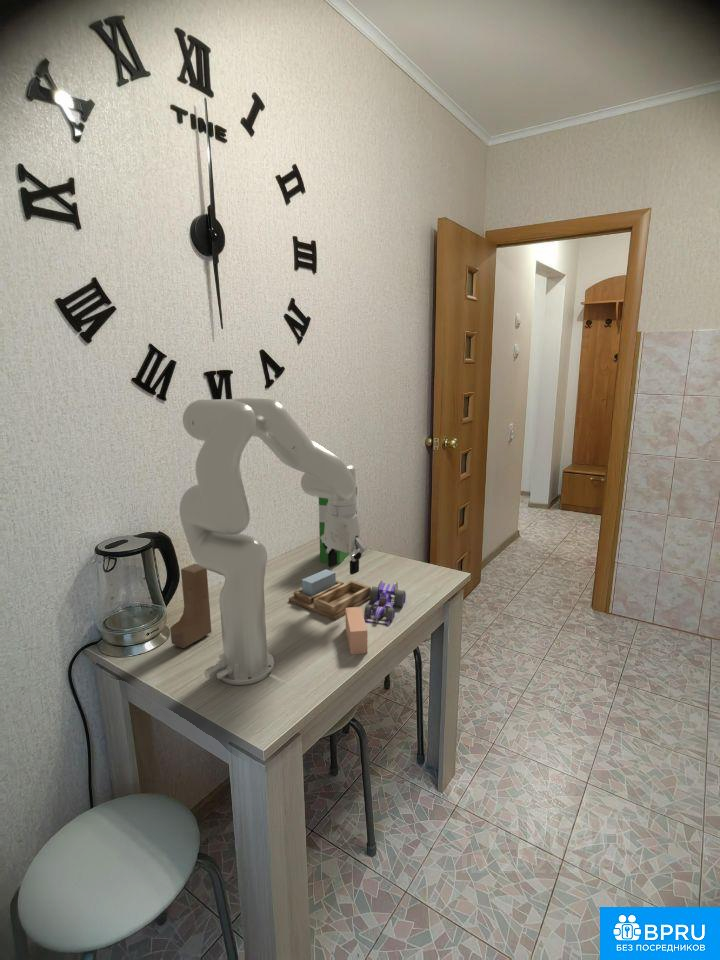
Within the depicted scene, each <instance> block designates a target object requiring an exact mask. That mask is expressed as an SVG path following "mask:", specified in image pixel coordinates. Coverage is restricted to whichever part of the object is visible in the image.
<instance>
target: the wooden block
mask: <svg viewBox="0 0 720 960" xmlns="http://www.w3.org/2000/svg"><path fill="white" fill-rule="evenodd" d="M180 572H181V574H180V576H181V586H182V596H183V611H182V615H181V616H180V619H179V620H178V621H177V622H175V624H173V625H172V626H170V628H169V630H170V631H169V632H170V639H171V640H170V641H171V644H172V645H175V646H177V647H180V648H181V649H184V648H186V647H188V646H190V645H192V644H193V643H195V642H197V641H199V640H201V639H202V638H205V637H206V636H207V635H209V634H211V633H212V620H211V606H210V592H209V583H208V581H209V580H208V570H207V569H204V568H202V567H201V566H199V565H198V564H197V563H193V564H190V565H188V566H185V567H183V568H181V569H180Z"/></svg>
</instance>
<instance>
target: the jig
mask: <svg viewBox="0 0 720 960" xmlns="http://www.w3.org/2000/svg"><path fill="white" fill-rule="evenodd" d="M371 589H372V587H371V586H369V585H367V584H366V585H365V584H362V583H359V582H357V581H354V580H349V581H347V582H343V581H339V580H336V585H334V586H332V587H330V588H328V589H326V590H324V591H322V592H320V593H318V594H316V595H314V596H312V597H311V596H308V595H306V594H303V593H302V587H300V588H298V589H297V590H294V591H293V595H292V596H290V597H288V602H290V603H293V604H295V605H297V606H299V607H302V608H304V609H306V610H309V611H310V612H313V613H316V614H318V615H321V616H323V617H325V618H327V619H330V620H332V621H336V620H338V619H340V618H341V617H344V616H346V614H345V608H350V607H361V606H362V605H364V604H365V603H366V602H368V601H370V592H371Z"/></svg>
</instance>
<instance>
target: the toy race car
mask: <svg viewBox="0 0 720 960" xmlns="http://www.w3.org/2000/svg"><path fill="white" fill-rule="evenodd" d="M398 587H399V585H398V581H397V582H396V583H395V584H394V583H393V584H391V583H386V582H383V580H381V581H380V582H379V584H378V586H372V587H371V592H370V600H369V604H365V607H364V612H363V616H364V620H365V623H371V624H378V623H380V624H384V625H385V624H386V626H387V627H389V625H390V623H393V621H394V619H395V615H396V611H395V610H396V609H395V608H394V607H396V608H403V607H404V605H405V604H406V598H407V593H406V591H405V590H403V589H402V590H401V589H398ZM393 603H394V604H393ZM372 604H373V605H372ZM393 605H394V607H393ZM373 615H374V619H371V618H372V616H373ZM382 617H385V618H386V621H381V620H379V619H381V618H382Z"/></svg>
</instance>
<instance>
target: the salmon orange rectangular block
mask: <svg viewBox="0 0 720 960" xmlns="http://www.w3.org/2000/svg"><path fill="white" fill-rule="evenodd" d="M364 619H365V617H364V612H363V610H362V607H361V606H358V607H350V608H345V632H346V638H347V643H348V648H349V652H350V655H360V654H368V628H367V627H368V626H367V624H366V622H365V620H364Z"/></svg>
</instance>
